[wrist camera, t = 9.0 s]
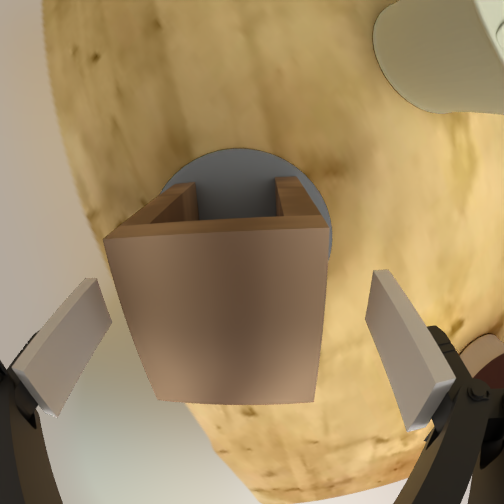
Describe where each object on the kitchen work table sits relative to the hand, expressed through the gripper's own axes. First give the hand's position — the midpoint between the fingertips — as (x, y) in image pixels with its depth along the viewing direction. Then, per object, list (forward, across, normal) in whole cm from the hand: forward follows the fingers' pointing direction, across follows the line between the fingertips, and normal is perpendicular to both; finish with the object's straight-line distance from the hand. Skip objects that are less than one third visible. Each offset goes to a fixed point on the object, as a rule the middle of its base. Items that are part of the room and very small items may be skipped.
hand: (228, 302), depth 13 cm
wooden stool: (+8, 0, -1) cm, 8 cm away
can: (+9, +14, +13) cm, 22 cm away
